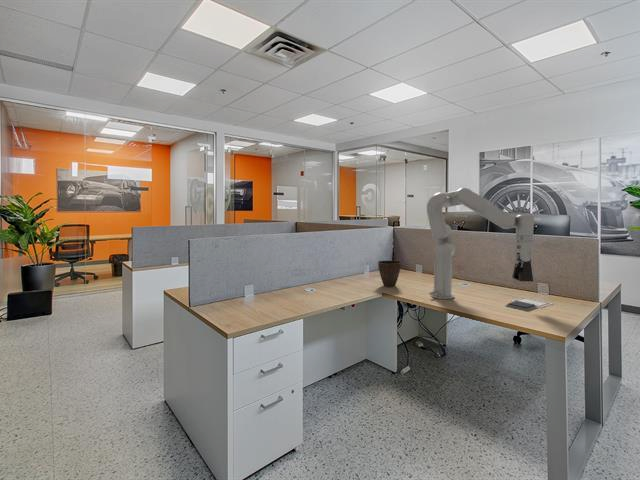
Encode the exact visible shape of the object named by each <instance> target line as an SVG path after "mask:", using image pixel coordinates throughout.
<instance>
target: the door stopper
mask: <svg viewBox="0 0 640 480" xmlns="http://www.w3.org/2000/svg"><path fill="white" fill-rule="evenodd" d="M519 261H522V260H519ZM520 264H521V262H520ZM512 271H513V273H512V276H511V277H512V279H514V280H515V281H518V282H534V277H533V275H534V274H533V269H532V261H531V259H530V261H528V262H523V274H522V272H520V271H519V274H518V275H516V264H515V263H514V268H513V270H512Z"/></svg>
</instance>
